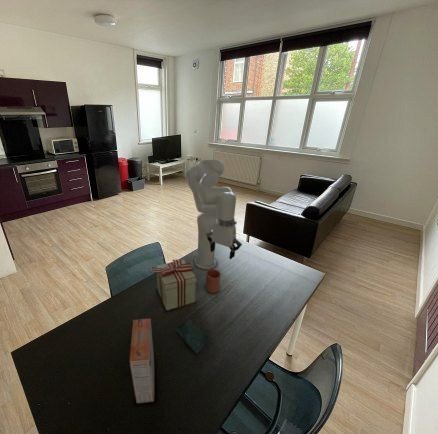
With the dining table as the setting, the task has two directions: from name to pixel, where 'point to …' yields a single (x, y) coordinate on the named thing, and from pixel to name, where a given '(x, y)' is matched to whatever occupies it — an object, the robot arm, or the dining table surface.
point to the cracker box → (142, 360)
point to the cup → (212, 281)
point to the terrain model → (193, 336)
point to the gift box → (176, 283)
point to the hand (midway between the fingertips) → (221, 254)
